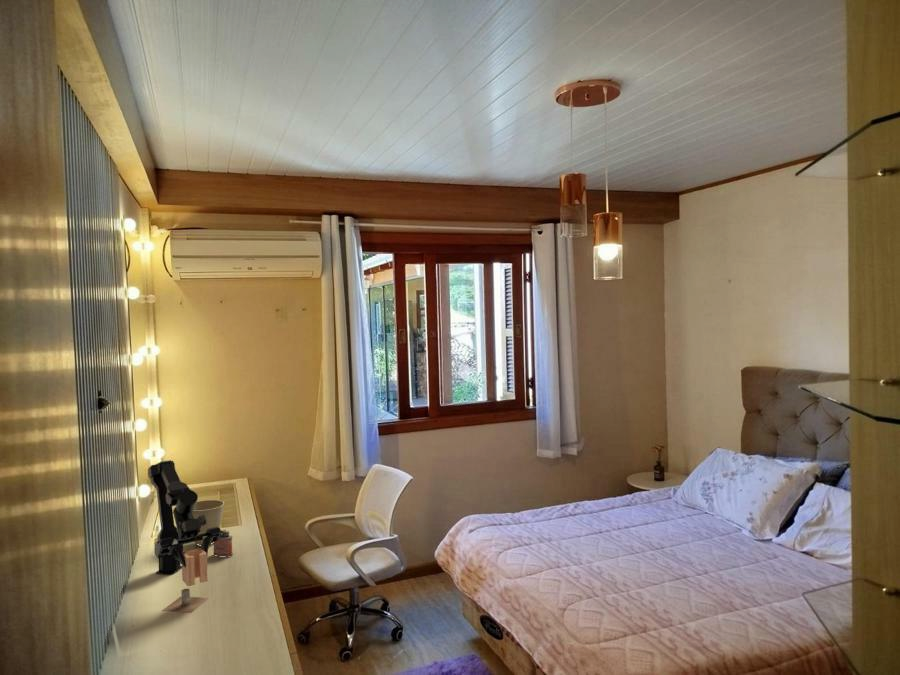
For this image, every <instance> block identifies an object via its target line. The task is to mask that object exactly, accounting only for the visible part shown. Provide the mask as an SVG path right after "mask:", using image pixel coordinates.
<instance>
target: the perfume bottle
mask: <svg viewBox="0 0 900 675" xmlns="http://www.w3.org/2000/svg"><path fill="white" fill-rule="evenodd" d="M213 554H214V555H217V556H227V557H226V558H229V557H228V556H232V555H233V556H234V554H233V536H232V535H230V530H226V529H221V535H220V538H219V540H218V541H217V542H214V544H213ZM213 554H212V555H213ZM233 556H232V557H233Z"/></svg>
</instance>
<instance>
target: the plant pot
mask: <svg viewBox="0 0 900 675" xmlns="http://www.w3.org/2000/svg"><path fill="white" fill-rule="evenodd" d="M224 508H225V501H223V500H219V499H205V500H199V501H198V500H197V502H196V505H195V508H194V510H193V511H192V512H193V516H194V518H195V519H198V517H199V516H201V515H205V518H206V525H204V526H201V528H200V532H199V533H198V535H200V534H204V533H206V531H207V529H209V528H213V527H219V528H220V529H221V525H222V520H223V515H224ZM195 543H196V544H199V545H202V540H201V541H196V542H194V544H195ZM196 544H195V545H196Z"/></svg>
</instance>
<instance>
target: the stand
mask: <svg viewBox="0 0 900 675" xmlns="http://www.w3.org/2000/svg"><path fill="white" fill-rule="evenodd" d="M190 592H191V591H190V588H184V589H182V590H181V596H180V597H178V598H177V599H175V600H174V601H173V602H171V603H170V604H168V605H167V606H166V607H164V609H162V610H161V612H171V613H173V612H174V613H188V614H191V613H193V612H194V611H195V610H197V609H198V608H199V607H200V606H202V604H204V603H205V602H206V601H207V600H209V599H210V597H203V596H201V597H200V596H199V597H198V596H191V593H190Z"/></svg>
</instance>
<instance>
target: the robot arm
mask: <svg viewBox="0 0 900 675" xmlns="http://www.w3.org/2000/svg"><path fill="white" fill-rule="evenodd" d="M175 465H176V464H175V462H174V461H173V460H170V459H169V460H164V461H163V460H162V461H159V462H157V463H156V464H151V465H150V466H149V467H148V469H147V477H148V478H149V480H150V484H151V485H152V486H153V487H154V488H155V489H156V490H155V491H156V496H157V497H156V498H157V505H158V513H159V514H158V515H159V521H160V530H159V532H158V535H157V537H156V538H157V541H156V542H155V547H154V556H155V557H156V559H158V570H157V571H156V572H155V573H163V574H162V575H174V574H175V573H176V572H178V571H179V570H181V569H182V568H181V567H182V566H183V567H184V568H185V567H186V562H185V559H184V556H183V553H182V552H184V545H188V544H191V543H195V542H196V541H201V540H202V545H201V547H200V548H202V549H203V550H204V551H205V552H206V553H207V557H208V553H209V547H210V546H212V545H211V543H213V542H217V541H218V540H219V538H220V535H221V530H222V529H221V527H220V528H219V527H213V528H209V529H207V531H206V533H204V534H200V535H198V533H199V532H200V528H201V526H204V525H206V518H205V515H201V516H199V517H198V519H195V518H194V516H193V512H192V511H193V510H194V508H195V505H196V502H198V498H199V497H198V496H199V495H198V493H197V492H196V491H194V490H192V489H191V488H190V487H189V486H188V484H187V483H185V482H182V481H181V479H180V476H179V475H178V473H177V470H176V466H175ZM173 507H174V508H173ZM209 545H210V546H209ZM180 568H181V569H180ZM178 569H179V570H178ZM177 570H178V571H177ZM175 571H176V572H175ZM174 572H175V573H174Z"/></svg>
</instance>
